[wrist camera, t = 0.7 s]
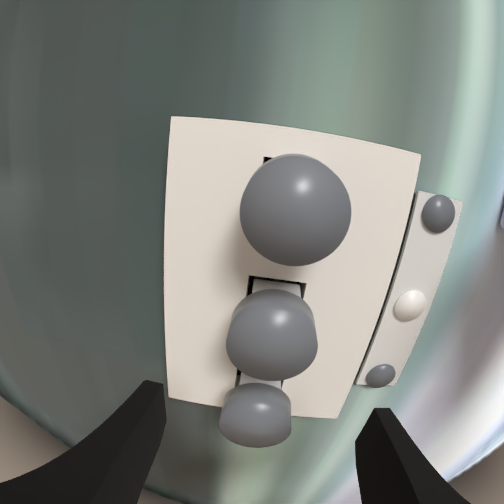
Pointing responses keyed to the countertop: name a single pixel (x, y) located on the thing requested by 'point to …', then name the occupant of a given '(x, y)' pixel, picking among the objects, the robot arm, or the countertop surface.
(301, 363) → the button
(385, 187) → the board
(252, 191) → the button
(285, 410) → the button
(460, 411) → the countertop surface
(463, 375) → the countertop surface
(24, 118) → the countertop surface
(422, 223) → the card
